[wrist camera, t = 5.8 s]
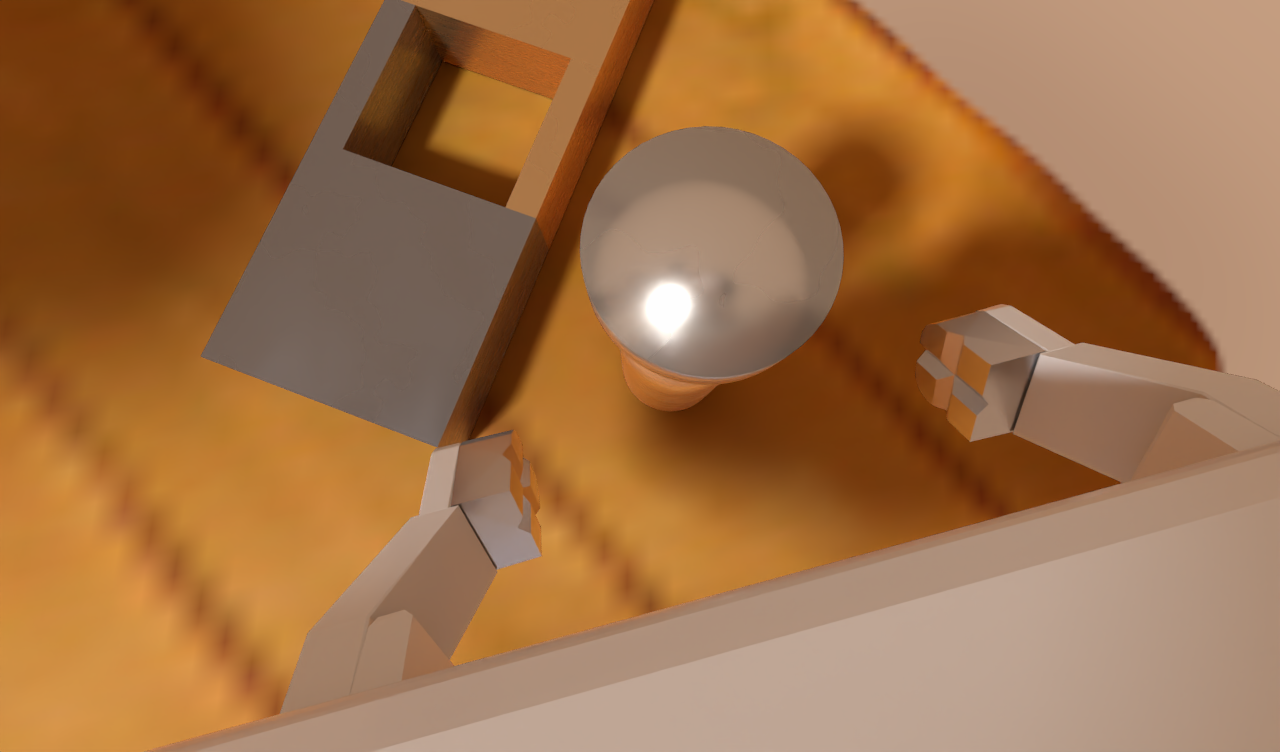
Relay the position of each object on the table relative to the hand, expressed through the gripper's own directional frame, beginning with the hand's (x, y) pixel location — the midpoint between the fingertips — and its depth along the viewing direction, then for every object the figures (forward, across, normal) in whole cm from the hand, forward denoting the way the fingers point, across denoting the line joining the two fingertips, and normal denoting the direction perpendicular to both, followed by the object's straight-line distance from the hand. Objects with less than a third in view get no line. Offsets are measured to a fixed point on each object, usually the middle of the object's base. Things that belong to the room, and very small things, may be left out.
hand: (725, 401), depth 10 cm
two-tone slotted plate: (+13, +5, -3) cm, 14 cm away
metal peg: (+6, 0, +4) cm, 7 cm away
